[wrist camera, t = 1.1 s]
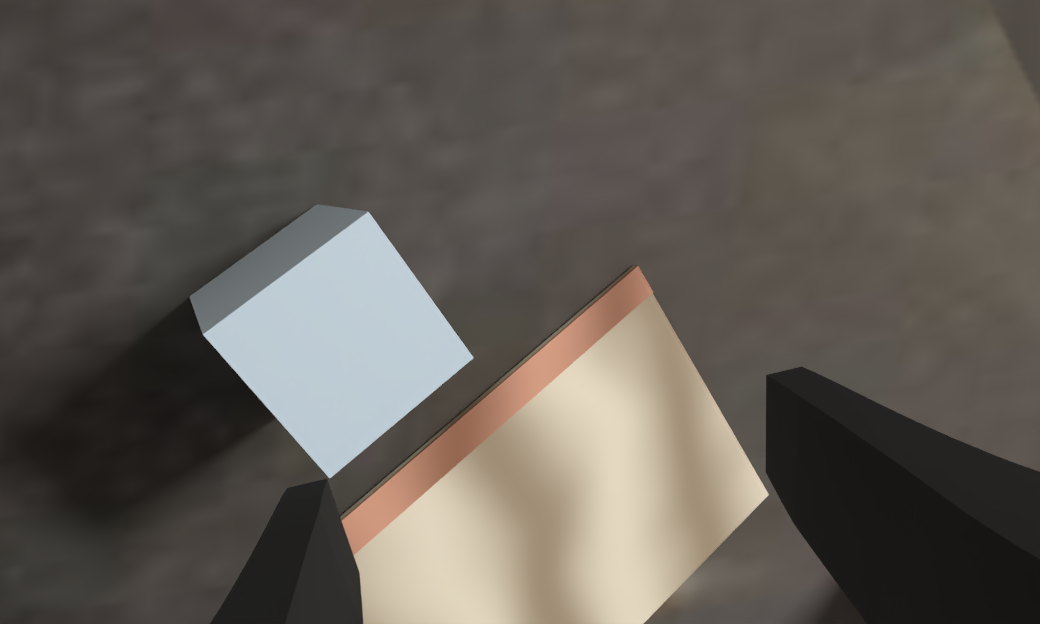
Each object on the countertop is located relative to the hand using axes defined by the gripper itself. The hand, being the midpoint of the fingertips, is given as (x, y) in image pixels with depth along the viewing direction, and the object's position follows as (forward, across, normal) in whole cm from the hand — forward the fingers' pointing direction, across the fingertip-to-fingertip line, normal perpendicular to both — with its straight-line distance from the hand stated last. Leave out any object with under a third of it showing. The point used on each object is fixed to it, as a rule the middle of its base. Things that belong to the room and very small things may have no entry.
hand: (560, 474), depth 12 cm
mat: (+11, 0, +12) cm, 16 cm away
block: (+12, +5, +2) cm, 13 cm away
